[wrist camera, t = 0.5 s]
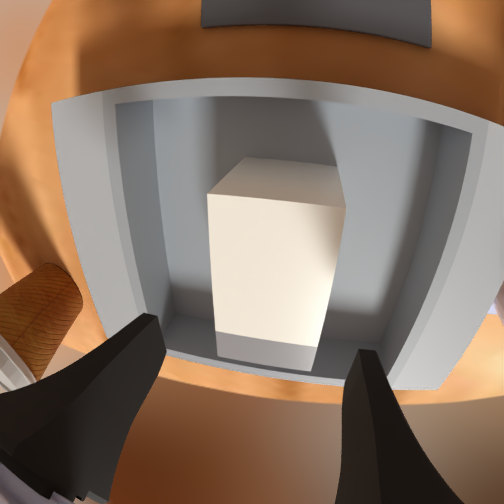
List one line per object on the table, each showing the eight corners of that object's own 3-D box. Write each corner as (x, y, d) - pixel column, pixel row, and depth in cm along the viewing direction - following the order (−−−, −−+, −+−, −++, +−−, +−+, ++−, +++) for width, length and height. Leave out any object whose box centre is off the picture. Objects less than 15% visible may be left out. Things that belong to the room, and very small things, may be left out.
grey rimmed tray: (506, 130, 11) (545, 145, 8) (428, 350, 20) (437, 389, 17) (94, 94, 16) (51, 102, 12) (130, 306, 25) (107, 337, 21)
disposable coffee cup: (53, 317, 30) (-4, 386, 20) (20, 248, 25) (-54, 314, 15) (109, 330, 28) (47, 420, 18) (73, 249, 23) (-20, 339, 13)
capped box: (337, 166, 15) (346, 208, 10) (316, 300, 20) (310, 371, 15) (244, 157, 16) (207, 193, 11) (243, 289, 21) (217, 356, 16)
